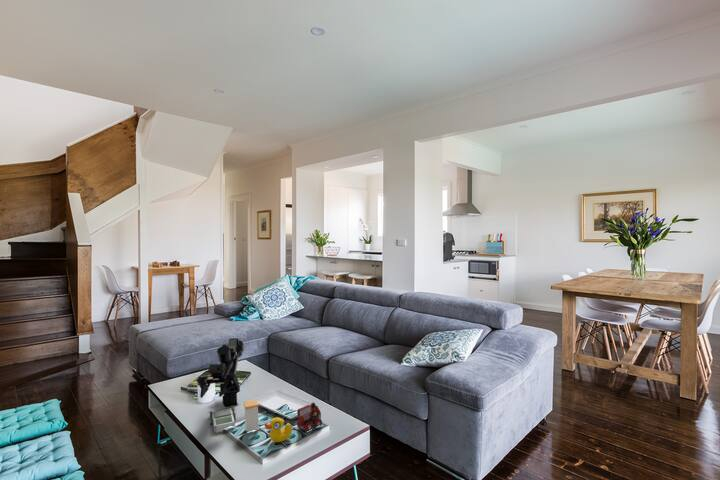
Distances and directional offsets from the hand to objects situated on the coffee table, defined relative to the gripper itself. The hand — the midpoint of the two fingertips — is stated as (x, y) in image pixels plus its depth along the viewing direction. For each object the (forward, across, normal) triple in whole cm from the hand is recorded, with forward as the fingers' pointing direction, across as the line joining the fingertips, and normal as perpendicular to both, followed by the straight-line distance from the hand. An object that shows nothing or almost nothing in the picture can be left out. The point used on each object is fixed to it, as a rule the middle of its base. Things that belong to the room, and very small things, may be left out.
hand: (210, 396), depth 170 cm
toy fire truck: (+4, +43, +20) cm, 47 cm away
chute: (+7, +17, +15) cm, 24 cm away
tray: (-12, +24, +27) cm, 38 cm away
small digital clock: (+2, +1, +16) cm, 16 cm away
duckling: (+14, +33, +13) cm, 38 cm away
